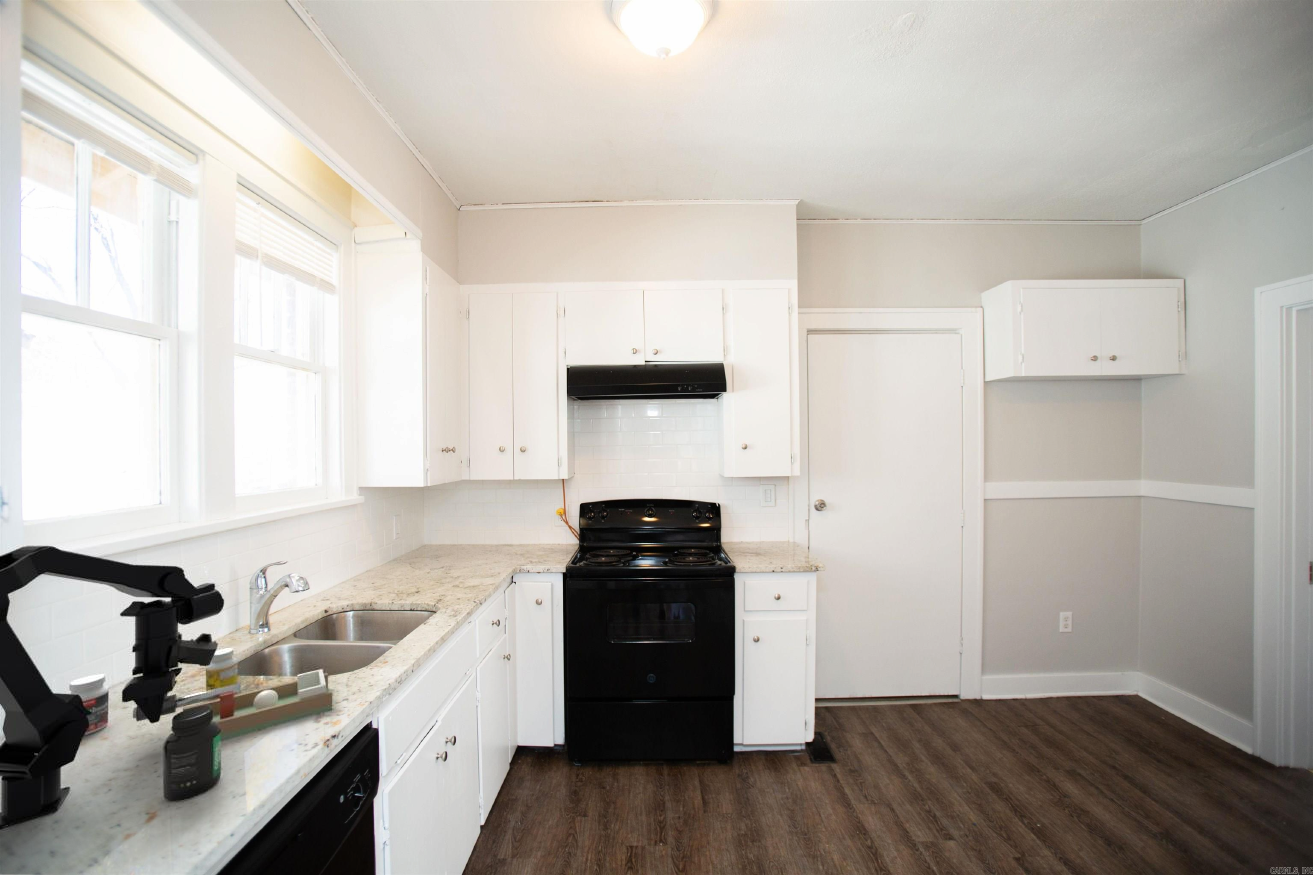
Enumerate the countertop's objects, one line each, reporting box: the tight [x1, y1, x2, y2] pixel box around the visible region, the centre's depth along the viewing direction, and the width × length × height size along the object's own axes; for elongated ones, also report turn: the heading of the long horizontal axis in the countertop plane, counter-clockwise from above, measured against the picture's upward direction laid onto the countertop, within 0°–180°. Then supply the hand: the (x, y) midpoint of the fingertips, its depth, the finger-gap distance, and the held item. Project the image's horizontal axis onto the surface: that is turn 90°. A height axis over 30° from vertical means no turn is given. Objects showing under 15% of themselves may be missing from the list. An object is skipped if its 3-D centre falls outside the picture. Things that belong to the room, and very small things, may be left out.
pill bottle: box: [68, 673, 110, 736], centre depth 99 cm, size 6×6×10 cm
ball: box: [253, 690, 278, 710], centre depth 103 cm, size 4×4×4 cm
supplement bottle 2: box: [205, 647, 239, 701], centre depth 113 cm, size 5×5×10 cm
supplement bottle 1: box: [162, 705, 222, 802], centre depth 81 cm, size 7×7×12 cm
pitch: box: [182, 672, 333, 741], centre depth 102 cm, size 12×24×4 cm, turn 127°
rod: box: [132, 682, 242, 723], centre depth 96 cm, size 4×15×7 cm, turn 127°
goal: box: [296, 668, 326, 699], centre depth 108 cm, size 10×5×4 cm, turn 37°
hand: (156, 718), depth 93 cm, fingers closed on rod, 3 cm apart
